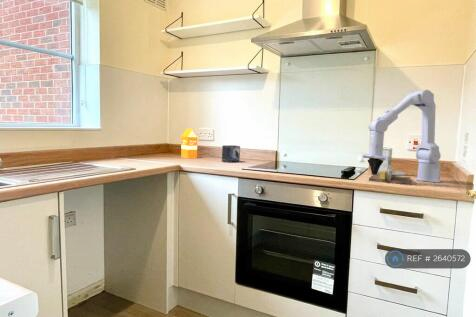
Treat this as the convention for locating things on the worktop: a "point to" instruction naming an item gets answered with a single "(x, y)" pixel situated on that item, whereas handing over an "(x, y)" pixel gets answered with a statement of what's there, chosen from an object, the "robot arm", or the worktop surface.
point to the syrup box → (386, 164)
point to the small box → (230, 153)
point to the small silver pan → (394, 173)
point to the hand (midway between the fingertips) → (374, 174)
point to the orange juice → (189, 144)
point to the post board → (391, 179)
